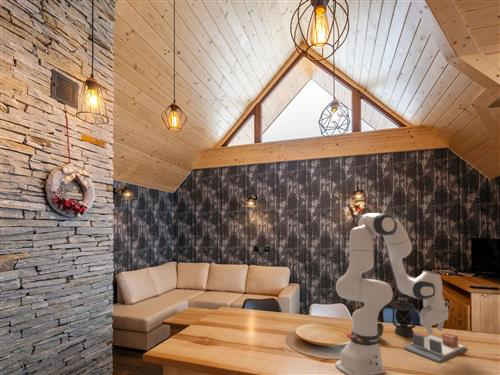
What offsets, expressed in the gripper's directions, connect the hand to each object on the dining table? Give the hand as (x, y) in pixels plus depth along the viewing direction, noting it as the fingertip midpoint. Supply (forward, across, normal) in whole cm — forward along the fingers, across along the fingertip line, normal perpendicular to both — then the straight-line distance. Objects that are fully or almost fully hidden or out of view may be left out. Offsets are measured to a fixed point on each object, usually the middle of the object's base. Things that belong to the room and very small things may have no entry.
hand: (435, 332), depth 145 cm
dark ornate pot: (+12, -8, +28) cm, 32 cm away
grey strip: (+10, +8, +8) cm, 16 cm away
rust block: (+10, +13, 0) cm, 16 cm away
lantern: (+12, +12, +24) cm, 30 cm away
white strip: (+10, +8, 0) cm, 13 cm away
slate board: (+11, +6, +4) cm, 14 cm away
